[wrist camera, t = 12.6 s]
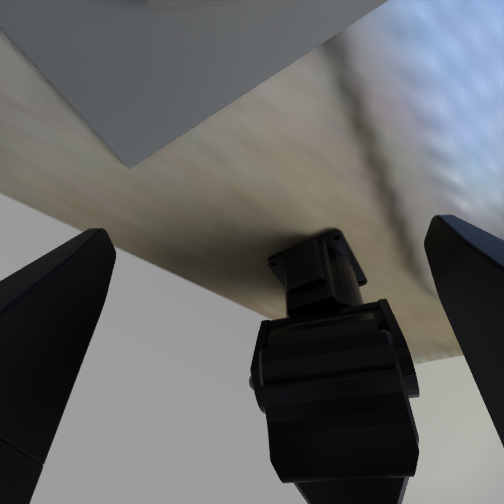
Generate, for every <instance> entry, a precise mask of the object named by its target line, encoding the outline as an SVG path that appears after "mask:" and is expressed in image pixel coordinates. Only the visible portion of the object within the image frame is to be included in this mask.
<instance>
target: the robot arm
mask: <svg viewBox="0 0 504 504" xmlns="http://www.w3.org/2000/svg"><path fill="white" fill-rule="evenodd" d="M337 235H338V237H335V236H337ZM424 248H425V252H426V255H427V259H428V262H429V265H430V269H431V272H432V276H433V279H434V283H435V286H436V290H437V293H438V296H439V298H440V301H441V303H442V306H443V308H444V310H445V312H446V315H447V317H448V319H449V322H450V324H451V326H452V329H453V331H454V333H455V336H456V338H457V340H458V343H459V345H460V347H461V349H462V352H463V354H464V356H465V359H466V361H467V363H468V366H469V368H470V370H471V372H472V375H473V377H474V380H475V382H476V384H477V386H478V389H479V391H480V393H481V396H482V398H483V400H484V403H485V405H486V407H487V410H488V412H489V414H490V417H491V419H492V421H493V423H494V426H495V428H496V430H497V433H498V435H499V437H500V439H501V442H502V444H503V446H504V240H502V239H500V238H498V237H496V236H494V235H492V234H490V233H488V232H486V231H484V230H482V229H480V228H478V227H476V226H474V225H472V224H470V223H468V222H466V221H464V220H462V219H460V218H458V217H456V216H454V215H450V214H448V215H436V216H434V217H433V218H432V220H431V223H430V226H429V229H428V231H427V234H426V237H425V241H424ZM115 260H116V251H115V248H114V246H113V244H112V242H111V239H110V237H109V235H108V233H107V231H106V230H105V229H103V228H92V229H88V230H86V231H84V232H83V233H81V234H79V235H78V236H76V237H74V238H72V239H71V240H69V241H67V242H66V243H64V244H62V245H61V246H59V247H57V248H55V249H54V250H52V251H50V252H49V253H47V254H46V255H44V256H42V257H40V258H39V259H37V260H35V261H34V262H32V263H30V264H28V265H27V266H25V267H23V268H22V269H20V270H18V271H17V272H15V273H13V274H12V275H10V276H8V277H6V278H5V279H3V280H1V281H0V504H30V501H31V498H32V495H33V493H34V490H35V488H36V485H37V482H38V480H39V477H40V474H41V472H42V469H43V464H44V463H45V460H46V458H47V455H48V452H49V450H50V447H51V444H52V442H53V439H54V437H55V434H56V431H57V429H58V426H59V423H60V420H61V418H62V415H63V413H64V409H65V407H66V405H67V402H68V399H69V396H70V394H71V391H72V389H73V386H74V383H75V381H76V378H77V375H78V373H79V370H80V367H81V364H82V362H83V359H84V356H85V354H86V351H87V349H88V346H89V343H90V341H91V338H92V335H93V333H94V330H95V327H96V325H97V322H98V319H99V317H100V314H101V312H102V309H103V306H104V303H105V299H106V296H107V292H108V288H109V284H110V280H111V276H112V271H113V268H114V264H115ZM272 262H275V263H272ZM268 266H269V267H270V269H271V270H272V271H273V273H274V274H275V275H276V277H277V278H278V279H279V280H280V282H281V283H282V284H283V286H284V287H285V300H286V318H282V319H277V320H271V321H270V320H264V321H262V322H261V326H260V330H259V332H258V337H257V341H256V346H255V351H254V355H253V360H252V364H251V369H250V370H251V376H250V379H249V384H250V387H251V388H252V389H253V390H254V391H255V396H256V400H257V403H258V405H259V408H260V410H261V411H262V412H263V413H266V419H267V427H268V437H269V450H270V460H271V463H272V465H273V467H274V469H275V471H276V473H277V475H278V477H279V478H280V480H281V481H282V482H283V483H294V484H295V486H296V487H297V489H298V490H299V492H300V493H301V494H302V496H303V497H304V499H305V500H306V502H307V503H308V504H402V501H403V497H404V493H405V490H406V487H407V483H408V480H409V477H413V476H414V475H415V472H416V466H417V461H418V456H419V448H418V443H419V437H418V433H417V429H416V425H415V421H414V417H413V414H412V410H411V406H410V402H409V398H414V397H419V386H418V381H417V377H416V372H415V369H414V365H413V361H412V358H411V355H410V352H409V349H408V346H407V343H406V341H405V338H404V336H403V334H402V331H401V329H400V327H399V325H398V323H397V321H396V319H395V316H394V314H393V312H392V310H391V308H390V306H389V303H388V301H387V299H380V300H378V301H377V302H372V303H366V304H364V303H363V300H362V296H361V293H360V289H359V287H360V286H363V285H365V284H366V283H367V279H366V276H365V274H364V272H363V270H362V268H361V267H360V265H359V263H358V261H357V259H356V257H355V255H354V253H353V252H352V250H351V248H350V246H349V244H348V242H347V240H346V238H345V236H344V235H343V233H342V231H340V230H333V231H331V232H329V233H326V234H324V235H321V236H319V237H317V238H314V239H312V240H309V241H307V242H304V243H302V244H300V245H297V246H295V247H292V248H290V249H288V250H285V251H283V252H281V253H278V254H276V255H273V256H271V257H269V258H268ZM360 280H361V281H360Z"/></svg>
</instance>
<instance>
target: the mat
mask: <svg viewBox="0 0 504 504" xmlns="http://www.w3.org/2000/svg"><path fill="white" fill-rule="evenodd" d="M386 1H388V0H272V1H262V2H252V3H242V4H232V5H222V6H212V7H202V8H192V9H182V10H172V11H162V12H152V13H151V11H150V7H149V3H148V0H0V28H1V29H2V30H3V31H4V32H5V33H6V34H7V35H8V37H9V38H10V39H11V40H12V41H13V42H14V43H15V44H16V45H17V46H18V48H19V49H20V50H21V51H22V52H23V53H24V54H25V55H26V56H27V57H28V59H29V60H30V61H31V62H32V63H33V64H34V65H35V66H36V67H37V68H38V70H39V71H40V72H41V73H42V74H43V75H44V76H45V77H46V78H47V79H48V81H49V82H50V83H51V84H52V85H53V86H54V87H55V88H56V89H57V90H58V92H59V93H60V94H61V95H62V96H63V97H64V98H65V99H66V100H67V101H68V103H69V104H70V105H71V106H72V107H73V108H74V109H75V110H76V111H77V112H78V114H79V115H80V116H81V117H82V118H83V119H84V120H85V121H86V122H87V123H88V125H89V126H90V127H91V128H92V129H93V130H94V131H95V132H96V133H97V134H98V136H99V137H100V138H101V139H102V140H103V141H104V142H105V143H106V144H107V145H108V147H109V148H110V149H111V150H112V151H113V152H114V153H115V154H116V155H117V156H118V158H119V159H120V160H121V161H122V162H123V163H124V164H125V165H126V166H127V167H128V169H130V168H131V167H133V166H135V165H136V164H138V163H139V162H141V161H142V160H144V159H145V158H147V157H148V156H150V155H151V154H153V153H154V152H156V151H158V150H159V149H161V148H162V147H164V146H165V145H167V144H168V143H170V142H171V141H173V140H174V139H176V138H177V137H179V136H181V135H182V134H184V133H185V132H187V131H188V130H190V129H191V128H193V127H194V126H196V125H197V124H199V123H201V122H202V121H204V120H205V119H207V118H208V117H210V116H211V115H213V114H214V113H216V112H217V111H219V110H220V109H222V108H224V107H225V106H227V105H228V104H230V103H231V102H233V101H234V100H236V99H237V98H239V97H240V96H242V95H243V94H245V93H247V92H248V91H250V90H251V89H253V88H254V87H256V86H257V85H259V84H260V83H262V82H263V81H265V80H267V79H268V78H270V77H271V76H273V75H274V74H276V73H277V72H279V71H280V70H282V69H283V68H285V67H286V66H288V65H290V64H291V63H293V62H294V61H296V60H297V59H299V58H300V57H302V56H303V55H305V54H306V53H308V52H310V51H311V50H313V49H314V48H316V47H317V46H319V45H320V44H322V43H323V42H325V41H326V40H328V39H329V38H331V37H333V36H334V35H336V34H337V33H339V32H340V31H342V30H343V29H345V28H346V27H348V26H349V25H351V24H352V23H354V22H356V21H357V20H359V19H360V18H362V17H363V16H365V15H366V14H368V13H369V12H371V11H372V10H374V9H376V8H377V7H379V6H380V5H382V4H383V3H385V2H386Z"/></svg>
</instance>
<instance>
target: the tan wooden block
mask: <svg viewBox="0 0 504 504" xmlns="http://www.w3.org/2000/svg"><path fill="white" fill-rule="evenodd" d="M262 1H272V0H148V3H149V7H150V11H151V13H152V12H162V11H172V10H182V9H192V8H202V7H212V6H222V5H232V4H242V3H252V2H262Z"/></svg>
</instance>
